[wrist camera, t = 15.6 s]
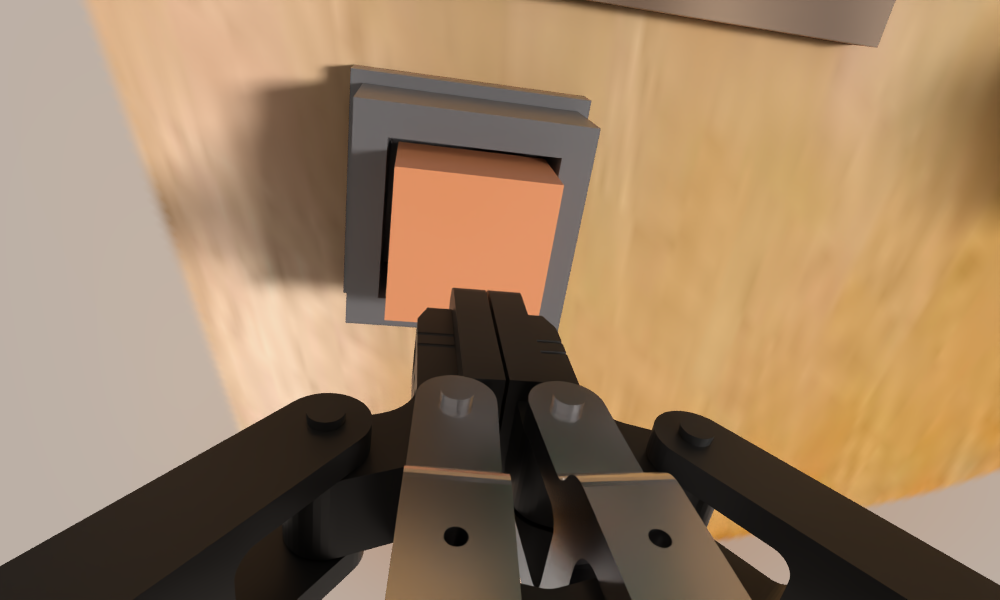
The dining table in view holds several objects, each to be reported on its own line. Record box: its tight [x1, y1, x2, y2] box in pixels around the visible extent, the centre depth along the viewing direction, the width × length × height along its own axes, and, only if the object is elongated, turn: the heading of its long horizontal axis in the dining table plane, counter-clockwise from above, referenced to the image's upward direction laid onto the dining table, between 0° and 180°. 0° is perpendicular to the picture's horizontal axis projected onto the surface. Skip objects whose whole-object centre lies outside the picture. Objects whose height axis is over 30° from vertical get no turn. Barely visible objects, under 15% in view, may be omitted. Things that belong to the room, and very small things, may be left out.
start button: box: [384, 142, 564, 322], centre depth 18 cm, size 5×5×3 cm
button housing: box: [344, 65, 600, 332], centre depth 21 cm, size 8×8×4 cm
